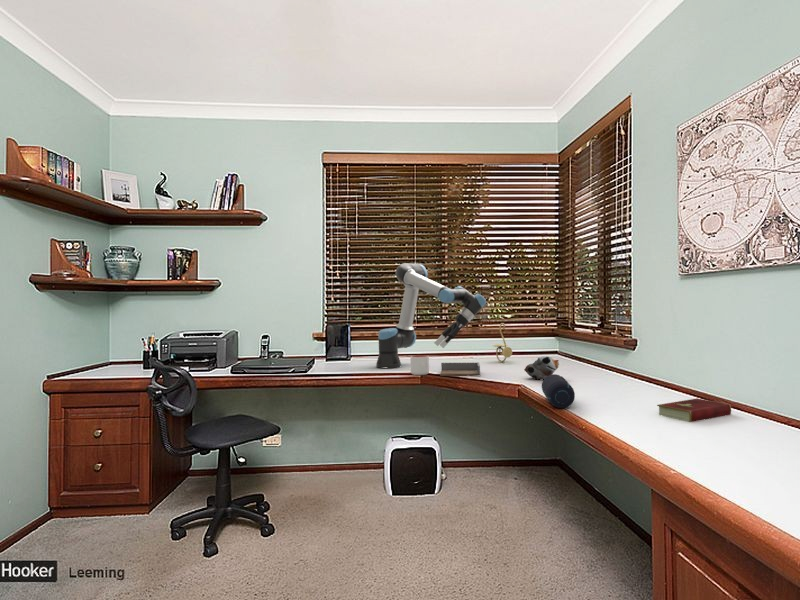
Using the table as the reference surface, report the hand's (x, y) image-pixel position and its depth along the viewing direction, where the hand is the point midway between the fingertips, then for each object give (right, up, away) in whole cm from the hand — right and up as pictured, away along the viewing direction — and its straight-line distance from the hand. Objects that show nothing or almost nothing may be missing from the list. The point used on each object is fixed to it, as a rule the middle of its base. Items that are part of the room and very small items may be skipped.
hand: (438, 345), depth 279 cm
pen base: (+12, -15, -4) cm, 19 cm away
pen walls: (+12, -14, -4) cm, 18 cm away
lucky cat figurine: (+50, -15, -25) cm, 58 cm away
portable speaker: (+40, -15, -84) cm, 94 cm away
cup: (-10, -16, -1) cm, 19 cm away
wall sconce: (+44, -15, +42) cm, 62 cm away
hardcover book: (+79, -14, -108) cm, 134 cm away
